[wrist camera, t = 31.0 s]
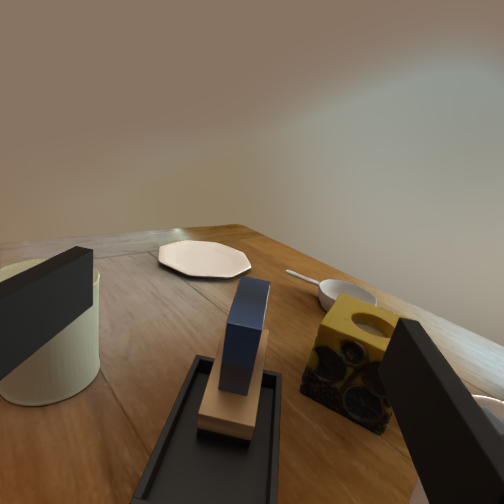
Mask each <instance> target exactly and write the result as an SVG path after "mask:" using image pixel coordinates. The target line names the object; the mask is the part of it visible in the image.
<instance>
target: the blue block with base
mask: <svg viewBox="0 0 504 504" xmlns="http://www.w3.org/2000/svg"><path fill="white" fill-rule="evenodd" d="M269 289H270V282H269V281H265V280H260V279H255V278H250V277H245V276H241V277H240V280H239V284H238V287H237V290H236V293H235V297H234V300H233V303H232V306H231V309H230V313H229V316H228V319H227V322H226V325H225V328H224V331H223V334H222V338H221V341H220V344H219V347H218V350H217V354H216V357H215V360H214V363H213V367H212V370H211V373H210V376H209V380H208V383H207V386H206V389H205V392H204V396H203V399H202V402H201V405H200V409H199V412H198V421H197V434H196V436H199V437H203V438H207V439H212V440H216V441H220V442H224V443H228V444H232V445H237V446H241V447H245V448H249V446H250V442H251V439H252V435H253V431H254V428H255V422H256V416H257V409H258V402H259V395H260V388H261V381H262V374H263V368H264V361H265V354H266V347H267V340H268V333H269V330H265V329H263V324H264V318H265V312H266V306H267V300H268V294H269Z"/></svg>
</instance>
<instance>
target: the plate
mask: <svg viewBox="0 0 504 504" xmlns="http://www.w3.org/2000/svg"><path fill="white" fill-rule="evenodd" d="M158 262H159V263H160V264H162V265H164V266H167V267H169V268H171V269H173V270H175V271H177V272H180V273H182V274H184V275H186V276H190V277H204V278H225V279H229V278H233V277H235V276H237V275H239V274H241V273H243V272H245V271H247V270H249V269H250V268H251V264H250V263H249V261H248V259H247V258H246V256H245V254H244V253H243V252H241V251H238V250H235V249H233V248H230V247H227V246H225V245H222V244H219V243H215V242H203V241H190V240H183V241H179V242H175V243H172V244H168V245H164V246H161V247H160V248H159V257H158Z"/></svg>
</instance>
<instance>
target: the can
mask: <svg viewBox="0 0 504 504" xmlns="http://www.w3.org/2000/svg"><path fill="white" fill-rule="evenodd" d="M48 259H50V258H46V259H35V260H28V261H23V262H18V263H15V264H11V265H8V266H5V267H3V268H1V269H0V282H2V281H4V280H6V279H8V278H10V277H12V276H14V275H16V274H18V273H21V272H23V271H25V270H27V269H29V268H31V267H33V266H35V265H37V264H40V263H42V262H44V261H46V260H48ZM99 279H100V274H99V272H98V270H97V269H96V268H95V267H93V306H91V307H90V308H89V309H88V310H87V311H85V312H84V313H83V314H82V315H80V316H79V317H78V318H77V319H76V320H74V321H73V322H72V323H71V324H69V325H68V326H67V327H66V328H65V329H63V330H62V331H61V332H60V333H58V334H57V335H56V336H55V337H53V338H52V339H51V340H50V341H49V342H47V343H46V344H45V345H44V346H42V347H41V348H40V349H39V350H38V351H36V352H35V353H34V354H33V355H31V356H30V357H29V358H28V359H26V360H25V361H24V362H23V363H22V364H20V365H19V366H18V367H17V368H15V369H14V370H13V371H12V372H11V373H9V374H8V375H7V376H6V377H4V378H3V379H2V380H1V381H0V394H1V396H2V397H3V398H4V399H6V400H7V401H9V402H11V403H14V404H17V405H22V406H42V405H48V404H52V403H56V402H59V401H62V400H65V399H67V398H69V397H72V396H74V395H75V394H77V393H79V392H80V391H82V390H83V389H85V388H86V387H87V386H88V385H89V384H90V383H91V382H92V381H93V380H94V379H95V377H96V376H97V374H98V372H99V369H100V358H99V345H98V308H99Z"/></svg>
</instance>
